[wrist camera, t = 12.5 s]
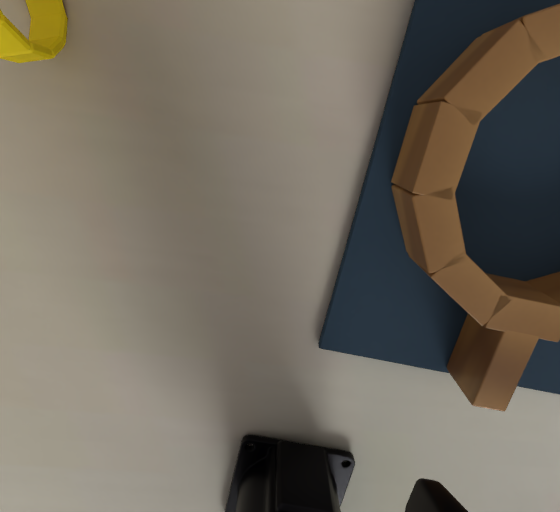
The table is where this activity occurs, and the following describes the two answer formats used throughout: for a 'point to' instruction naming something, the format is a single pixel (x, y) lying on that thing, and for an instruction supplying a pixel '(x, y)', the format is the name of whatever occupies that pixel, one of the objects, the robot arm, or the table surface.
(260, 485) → the robot arm
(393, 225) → the mat
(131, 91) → the table surface
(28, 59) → the yellow ring
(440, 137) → the hoop
